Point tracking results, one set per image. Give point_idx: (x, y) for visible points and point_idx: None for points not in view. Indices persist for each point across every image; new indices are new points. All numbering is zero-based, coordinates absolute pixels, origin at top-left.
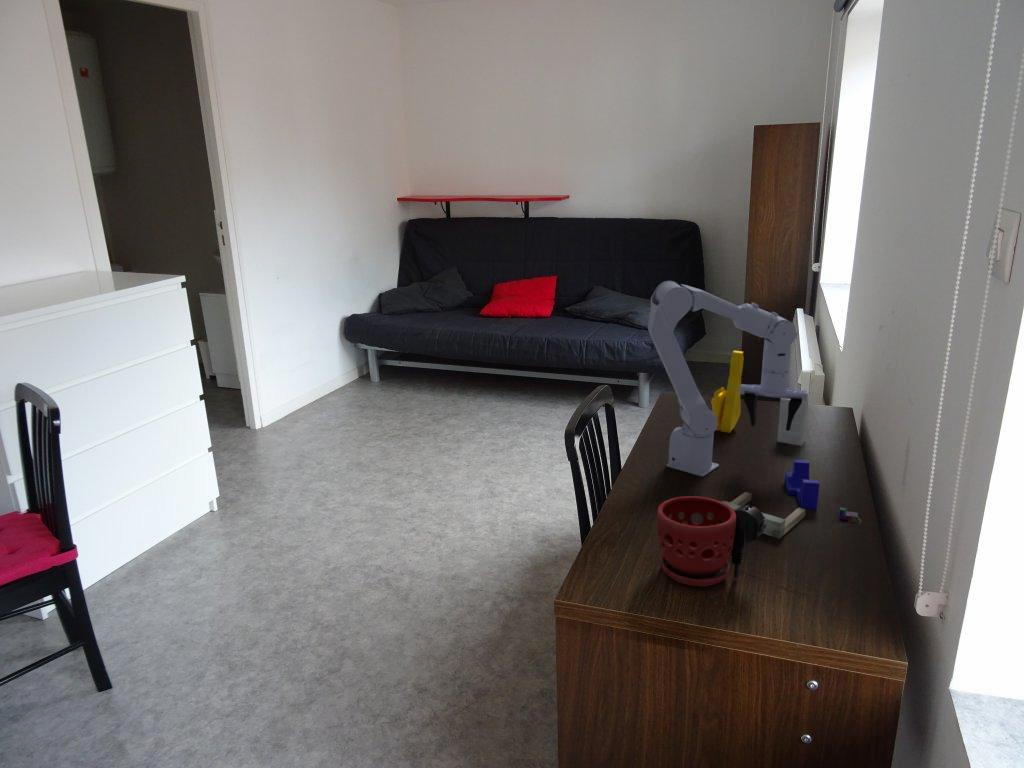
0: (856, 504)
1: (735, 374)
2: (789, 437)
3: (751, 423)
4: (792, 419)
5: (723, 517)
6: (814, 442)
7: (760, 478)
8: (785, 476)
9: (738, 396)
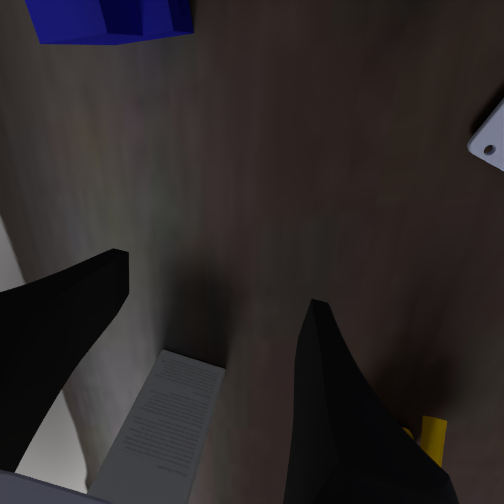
0: None
1: None
2: (187, 378)
3: (330, 309)
4: (42, 279)
5: None
6: (136, 377)
7: (289, 69)
8: (176, 14)
9: None
